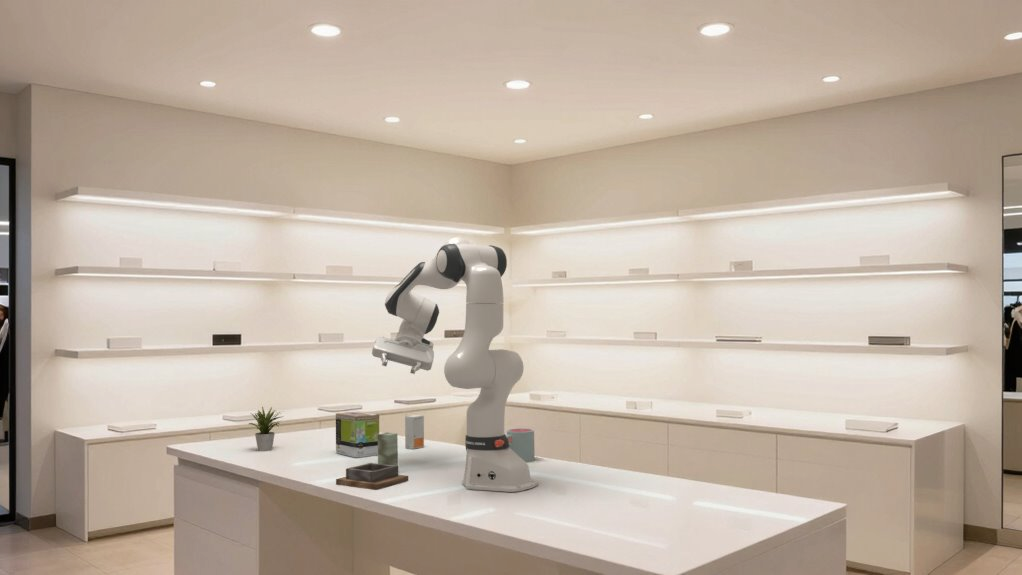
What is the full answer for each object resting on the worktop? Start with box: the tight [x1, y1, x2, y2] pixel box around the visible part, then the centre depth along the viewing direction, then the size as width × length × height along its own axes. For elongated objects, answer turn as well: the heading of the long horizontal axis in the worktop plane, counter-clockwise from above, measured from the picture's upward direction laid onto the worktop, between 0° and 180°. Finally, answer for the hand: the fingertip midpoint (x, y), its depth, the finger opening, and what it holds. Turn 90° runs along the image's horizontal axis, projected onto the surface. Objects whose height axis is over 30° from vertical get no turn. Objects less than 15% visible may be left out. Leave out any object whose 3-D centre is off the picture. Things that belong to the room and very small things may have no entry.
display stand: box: [335, 462, 409, 491], centre depth 249 cm, size 16×14×4 cm
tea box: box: [335, 411, 380, 459], centre depth 300 cm, size 15×10×15 cm, turn 40°
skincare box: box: [404, 414, 425, 450], centre depth 311 cm, size 6×4×12 cm
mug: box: [505, 427, 536, 463], centre depth 281 cm, size 14×9×10 cm
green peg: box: [377, 432, 399, 467], centre depth 266 cm, size 4×4×12 cm
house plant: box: [248, 406, 285, 452], centre depth 312 cm, size 14×14×16 cm
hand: (398, 368), depth 269 cm, fingers open, 8 cm apart
